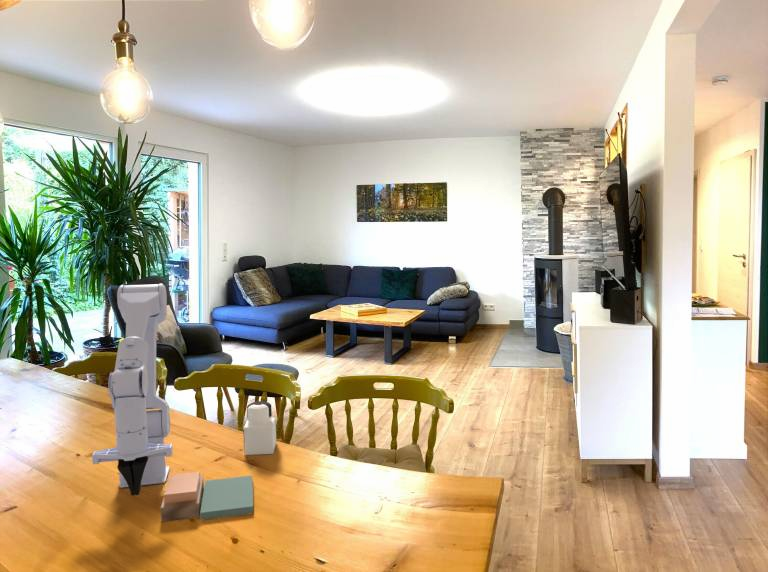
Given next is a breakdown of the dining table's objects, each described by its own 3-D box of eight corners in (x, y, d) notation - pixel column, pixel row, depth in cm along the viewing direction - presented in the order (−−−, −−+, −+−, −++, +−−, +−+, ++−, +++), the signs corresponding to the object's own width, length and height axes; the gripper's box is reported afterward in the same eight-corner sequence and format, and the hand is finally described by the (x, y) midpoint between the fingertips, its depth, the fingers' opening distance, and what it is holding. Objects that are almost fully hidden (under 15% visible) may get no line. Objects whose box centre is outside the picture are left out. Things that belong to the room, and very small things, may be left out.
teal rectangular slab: (200, 520, 111) (200, 512, 111) (205, 487, 124) (205, 480, 124) (253, 513, 113) (253, 506, 113) (252, 481, 127) (252, 475, 126)
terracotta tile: (164, 503, 111) (163, 494, 111) (170, 482, 120) (169, 474, 120) (196, 499, 113) (196, 491, 112) (200, 479, 121) (199, 471, 121)
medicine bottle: (248, 444, 148) (246, 399, 146) (276, 443, 148) (274, 398, 147) (244, 455, 141) (242, 408, 139) (273, 454, 141) (271, 407, 140)
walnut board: (161, 522, 110) (160, 507, 110) (169, 493, 122) (168, 480, 121) (199, 517, 112) (198, 503, 111) (203, 489, 123) (203, 476, 123)
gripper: (85, 439, 107) (91, 507, 109) (167, 431, 110) (171, 498, 112) (95, 425, 114) (100, 490, 115) (172, 419, 117) (175, 482, 119)
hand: (135, 493), depth 114 cm, fingers closed
